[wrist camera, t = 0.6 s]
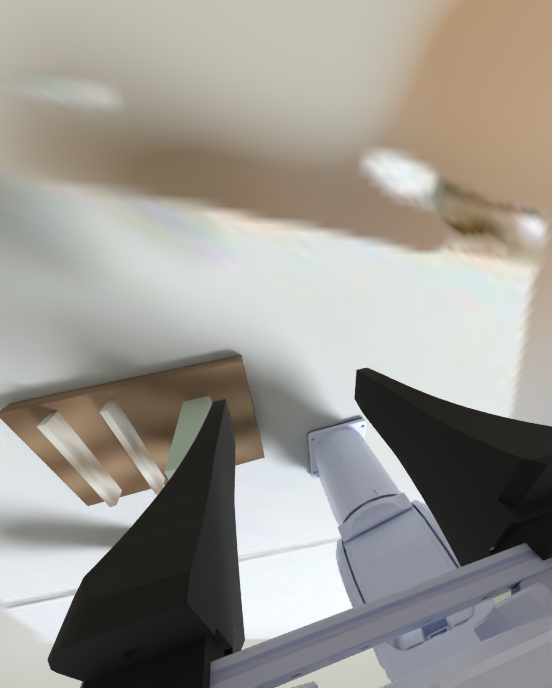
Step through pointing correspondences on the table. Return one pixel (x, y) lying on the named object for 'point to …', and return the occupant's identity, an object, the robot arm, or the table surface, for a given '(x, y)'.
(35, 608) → the table surface
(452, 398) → the table surface
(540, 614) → the robot arm
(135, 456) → the track base
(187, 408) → the door panel
